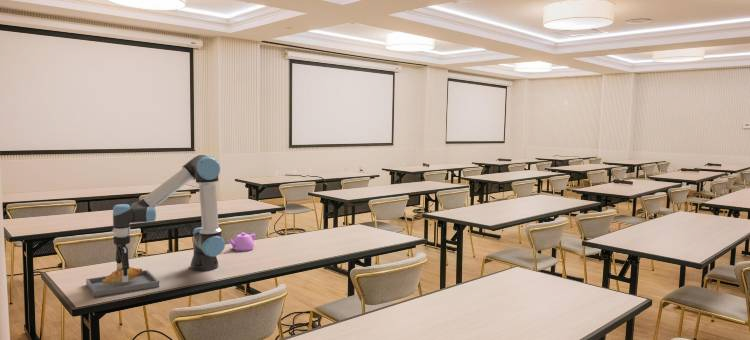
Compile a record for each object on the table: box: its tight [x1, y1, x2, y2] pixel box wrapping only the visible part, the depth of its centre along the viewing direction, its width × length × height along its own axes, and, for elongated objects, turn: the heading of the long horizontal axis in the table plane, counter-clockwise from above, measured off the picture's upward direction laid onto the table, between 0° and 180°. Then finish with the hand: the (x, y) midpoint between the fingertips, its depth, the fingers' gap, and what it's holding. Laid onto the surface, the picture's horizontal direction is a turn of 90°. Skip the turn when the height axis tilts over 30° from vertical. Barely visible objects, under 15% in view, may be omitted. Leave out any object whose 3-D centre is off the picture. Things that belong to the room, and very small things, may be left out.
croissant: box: [102, 266, 143, 284], centre depth 260 cm, size 21×10×8 cm, turn 151°
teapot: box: [227, 232, 256, 252], centre depth 337 cm, size 14×20×11 cm
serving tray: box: [85, 269, 160, 299], centre depth 261 cm, size 29×22×3 cm
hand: (122, 278), depth 261 cm, fingers closed on croissant, 10 cm apart
